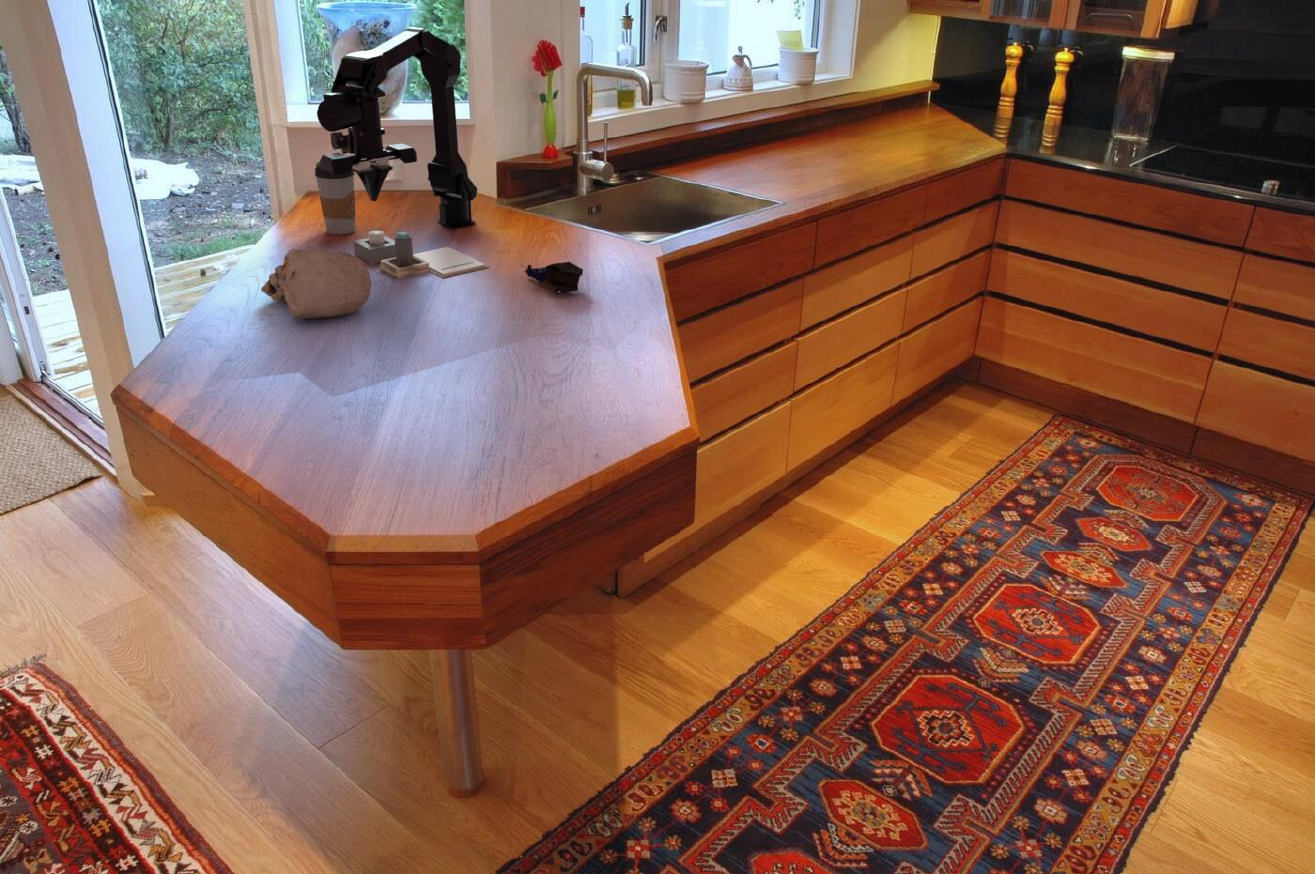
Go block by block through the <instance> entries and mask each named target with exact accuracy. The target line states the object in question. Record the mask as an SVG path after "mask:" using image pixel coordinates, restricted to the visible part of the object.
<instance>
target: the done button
mask: <svg viewBox="0 0 1315 874" xmlns="http://www.w3.org/2000/svg"><path fill="white" fill-rule="evenodd" d="M384 236H385V231H382V230H371V231H368V233H367V238H369V245H371V246H378V245H383V244H385V238H384Z"/></svg>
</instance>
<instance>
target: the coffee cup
mask: <svg viewBox="0 0 1315 874" xmlns="http://www.w3.org/2000/svg"><path fill="white" fill-rule="evenodd" d="M315 165H316V166H315V168H314V176H315V178H316V183H317V189H318V196H319V201H320V207H321V211H322V217H323V220H324V225H325V230H326V231H327V233H329V234H330V233H331V235H334V234H338V235H337V236H342V235H341V234H345V235H349V233H350V234H352V233H354V232H355V230H356V229H357V228H356V226H357V225H356V193H355V178H354V177H355V176H354V175H355V174H356V172H354V171H350V172H349V173H343V174H332V173H330V172H327V171H325V170H323V169H321V164H320V161H318V162H317V163H315Z"/></svg>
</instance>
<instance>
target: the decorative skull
mask: <svg viewBox="0 0 1315 874" xmlns="http://www.w3.org/2000/svg"><path fill="white" fill-rule="evenodd" d="M283 257H284V258H283V264H279V265H277V266H276V267H275V268H274V272H273V273H270V274H269V276H268V280H267V281H266V282H265V283H264V285H262V287H261V288H260V289H261V292H262V293H264V294H266V295H267V296H268V297H271V299H272V301H273V302H274V303H279V302H282V303H286V306H287V309H288V310H289V314H290V316H291V318H293V319H296V320H299V319H301V320H302V319H322V318H331V317H340V316H344V315H349V314H353V313H356V312H358V311H359V310H361V309H362V307H364V305H366V303H367V301H368V299H369V298H370V295H371V291H372V290H371V288H372V279H371V275H370V271H369V269H368V268H367V266H366V264H365V263H364V262H363V259H362V258H360V257H358V256H356V255H355V254H354V255H353V254H351V253H349V252H344V251H333V250H332V251H331V250H324V249H319V248H315V247H305V248H301V249H295V248H291V249H290V250H288V252H287V253H286V254H285V255H284V256H283Z"/></svg>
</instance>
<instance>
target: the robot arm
mask: <svg viewBox="0 0 1315 874" xmlns="http://www.w3.org/2000/svg"><path fill="white" fill-rule="evenodd" d="M412 57H414V58H415V59H416V60H417V61H419V63H420V64H419V65H420V69H421V74H422V75H423V77H424V79H425V80H426V82H427V83H428V85H429V87H430V96H431V110H432V111H431V112H432V122H433V123H432V124H433V133H434V148H435V155H434V157H433V158H432V159H431V162H427V166H426V167H427V172H428V177H427V181H429V183H430V187H431V189H432V192H433V194H434V197H439V199H440V200H439V201H440V204H439V205H438V209H439V218H438V220H437V222H438V223H439V224H442V225H444V226H446V227H449V228H451V229H456V228H460V227H467V226H473V225H475V224H476V223H477V222H476V221H475V220H473V218H472V201H474V200H475V199H476V198H477V194H478V187H477V186H476V185H475V184H474V183H473V181H472V180H471V179H470V177H469V173H468V169H467V168H468V167H467V165H466V163H465V161H464V159H463V157H462V156H461V154H460V153H459V144H458V143H459V141H458V127H457V114H456V113H457V112H456V99H455V85H456V83H457V81H458V79H459V77H460V75H461V65H462V64H461V61H462V60H461V59H462V57H461V52H460V49H458V47H457V46H456V45H454V44H450V43H449V42H448V41H446V40H444V39H442V38H440V37H438V36H436V35H434V34H433V33H432V32H431V31H429V30H427V29H426V28H421V27H414V26H413V27H412V26H410V27H407V28H405V29H404V30H403V31H402V32H400V33H399V34H397V35H395V36H394V37H392V38H391V39H389V40H386V41H385V42H383V43H382V44H380V45H378V46H376V47H374V48H373V49H370V50H362V51H355V52H350V53H347V54H345V55H344V56H343V57H342V58H341V59H340V64H339V67H338V70H337V72H336V75H335V78H334V81H333V84H332V87H331V90H330V92H331V93H329V92H328V93H324V94H323V101H321V102H320V103H319V104H318V106H317V107H318V108H317V111H316V117H317V120H318V122H319V124H320V125H321V127H322V128H323V129H324V131H327V132H330V144H331V146H332V149H333V150H340V151H341V152H334V153H333V152H332V153H327V154H326V153H325V154H322V156H321V158H320V160H319V162H320V164H321V169H323V170H325V171H327V172H330V173H332V174H343V173H349V172H350V171H354V173H355V174H356V175H357V177H358V178H359V179H360V181H361V183H362V184H363V187H364V188H365V191H366V193H367V196H368V197H369V198H368V199H369V200H370V201H372V202H377V201H378V198H379V195H380V193H381V190H382V187H383V185H384V183H385V180H386V179H387V176H388V175H389V172H390V171H392V170H393V169H394V167H393V166H392V165H390V161H392V160H399V161H401V162H402V163H403V164H410V163H411V164H412V163H416V162H418V154H417V153H418V152H417V151H416V149H415V148H414V147H412V146H410V145H407V144H404V143H402V142H401V143H396V144H395V143H394V144H390V145H389V144H388V145H387V146H386V147H385V149H384V143H383V135H386V129H385V128H383V127H382V122H381V121H382V120H381V111H380V100H379V99H380V98H383V97H386V92H385V91H384V90H383V89H381V88H380V87H379V86H380V85H381V84H383V82H384V81H386V79H387V77H388V73H389V72H390V70H392V69H393V68H395V67H396V66H399V65H400V64H402V63H403V62H405V61H406V60H408V59H410V58H412ZM346 129H347V134H345V135H344V134H343V132H342V130H343V131H344V130H346ZM345 154H346V155H345ZM347 154H350V155H347Z"/></svg>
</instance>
